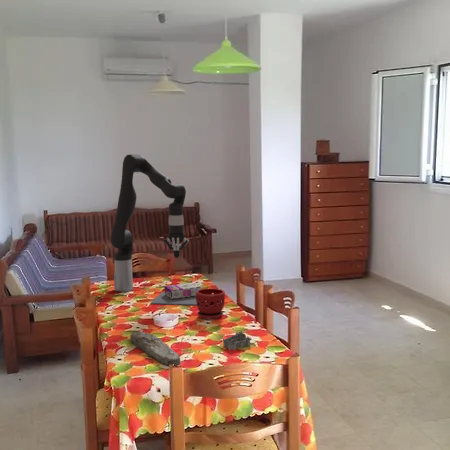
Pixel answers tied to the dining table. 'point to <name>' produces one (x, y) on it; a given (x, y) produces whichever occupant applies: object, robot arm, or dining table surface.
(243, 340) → the egg carton
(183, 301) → the rubber mat
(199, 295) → the plant pot
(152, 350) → the long grey stone
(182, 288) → the candy bar box
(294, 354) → the dining table surface
